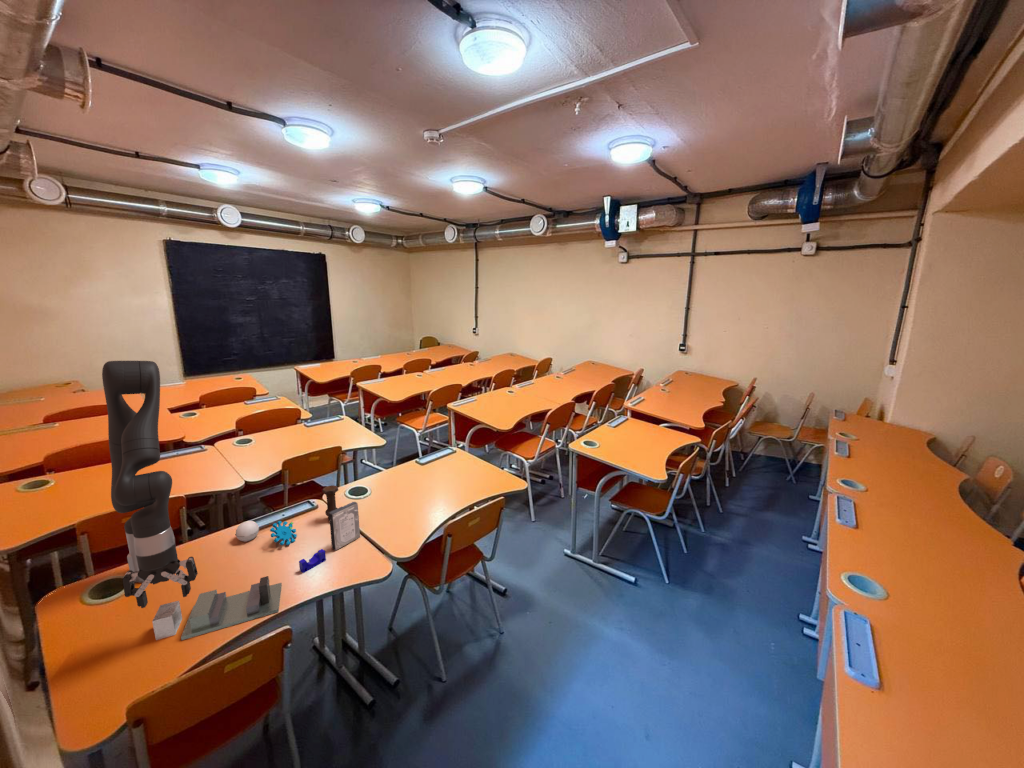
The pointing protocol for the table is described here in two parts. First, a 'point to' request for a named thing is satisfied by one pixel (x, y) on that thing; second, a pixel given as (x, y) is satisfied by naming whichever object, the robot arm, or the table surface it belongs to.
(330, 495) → the bolt
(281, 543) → the gear
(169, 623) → the steel block
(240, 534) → the seamed sphere
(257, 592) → the free jaw
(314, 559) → the cable holder
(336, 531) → the disk drive
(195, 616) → the vise
